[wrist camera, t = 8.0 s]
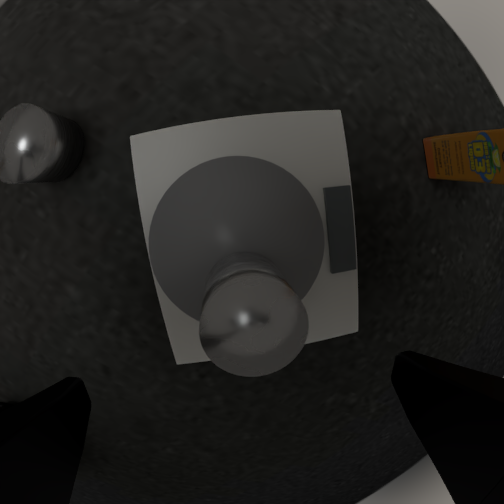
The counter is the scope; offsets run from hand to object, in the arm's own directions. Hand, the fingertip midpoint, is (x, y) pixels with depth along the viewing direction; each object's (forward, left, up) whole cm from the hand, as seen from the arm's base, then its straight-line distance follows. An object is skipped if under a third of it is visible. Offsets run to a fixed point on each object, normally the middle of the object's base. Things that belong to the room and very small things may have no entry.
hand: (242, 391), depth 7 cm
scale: (+2, -2, -12) cm, 12 cm away
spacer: (-1, -1, -9) cm, 9 cm away
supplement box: (+6, -17, -12) cm, 21 cm away
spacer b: (+10, +10, -12) cm, 19 cm away
